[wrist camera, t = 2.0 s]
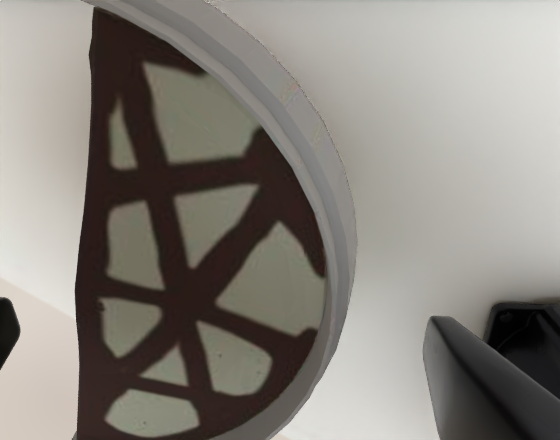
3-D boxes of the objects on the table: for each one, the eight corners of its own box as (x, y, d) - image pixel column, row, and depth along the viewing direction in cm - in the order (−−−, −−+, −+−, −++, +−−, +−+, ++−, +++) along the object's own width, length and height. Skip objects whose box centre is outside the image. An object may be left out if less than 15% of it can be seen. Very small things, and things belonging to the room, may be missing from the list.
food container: (293, 308, 20) (279, 538, 11) (171, 278, 20) (52, 488, 11) (379, 44, 15) (492, 59, 6) (214, -2, 14) (53, -63, 5)
